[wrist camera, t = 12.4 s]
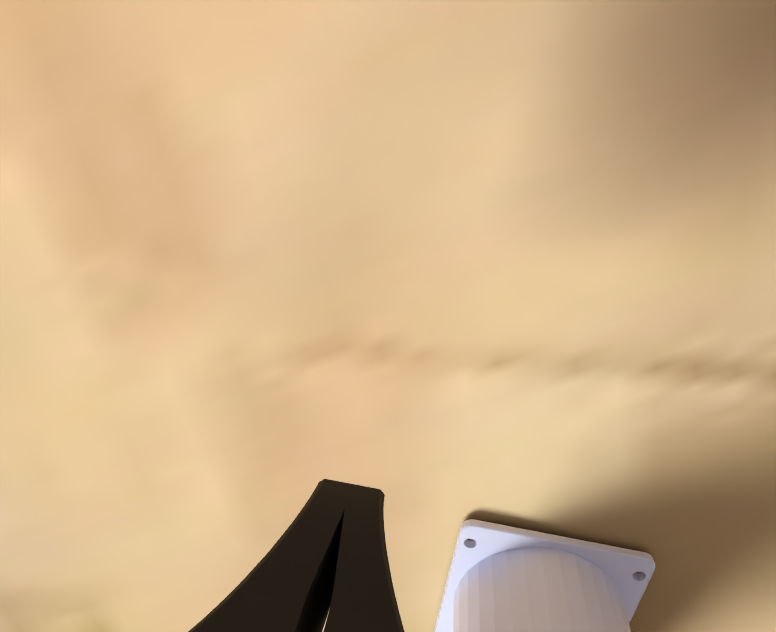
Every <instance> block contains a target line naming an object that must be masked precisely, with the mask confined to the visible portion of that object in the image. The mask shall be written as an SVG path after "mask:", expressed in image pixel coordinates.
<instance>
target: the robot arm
mask: <svg viewBox="0 0 776 632" xmlns="http://www.w3.org/2000/svg"><path fill="white" fill-rule="evenodd" d="M383 506H384V493H383V492H382V491H381V490H380V489H375V488H370V487H364V486H359V485H354V484H349V483H344V482H338V481H333V480H328V479H324V480H322V481H320V482H319V483H318V485H317V487H316V489H315V490H314V492H313V494H312V495H311V497H310V498H309V500H308V501H307V503H306V504H305V506H304V507H303V509H302V510H301V512H300V513H299V514H298V516H297V517H296V518H295V520H294V521H293V522H292V524H291V525H290V526H289V528H288V529H287V530H286V531H285V533H284V534H283V535H282V536H281V537H280V539H279V540H278V541H277V542H276V544H275V545H274V546H273V547H272V549H271V550H270V551H269V552H268V553H267V554H266V556H265V557H264V558H263V559H262V560H261V561H260V562H259V563H258V564H257V565H256V567H255V568H254V569H253V570H252V571H251V572H250V573H249V574H248V575H247V576H246V578H245V579H244V580H243V581H242V582H241V583H240V584H239V585H238V586H237V587H236V588H235V589H234V590H233V591H232V592H231V593H230V594H229V595H228V596H227V597H226V598H225V599H224V600H223V601H222V602H221V603H220V604H219V605H218V606H217V607H216V608H214V609H213V610H212V611H211V612H210V613H209V614H208V615H207V616H206V617H205V618H204V619H203V620H201V621H200V622H199V623H198V624H197V625H196V626H194V627H193V628H192V629H191V630H190V631H189V632H322V630H323V627H324V624H325V621H326V618H327V621H326V625H325V629H324V632H404V629H403V625H402V621H401V618H400V614H399V610H398V606H397V602H396V597H395V593H394V588H393V584H392V579H391V573H390V568H389V562H388V556H387V550H386V542H385V532H384V519H383ZM466 539H473V541H468V540H466ZM655 567H656V565H655V562H654V559H653V557H652V556H651V555H650V554H648V553H645V552H641V551H636V550H631V549H625V548H620V547H615V546H610V545H605V544H599V543H594V542H589V541H584V540H579V539H573V538H568V537H563V536H558V535H553V534H547V533H542V532H537V531H532V530H527V529H521V528H516V527H511V526H506V525H501V524H495V523H490V522H485V521H480V520H474V519H469V520H466V521H464V522H463V523H462V524H461V526H460V530H459V534H458V538H457V542H456V546H455V550H454V554H453V558H452V561H451V565H450V569H449V573H448V577H447V581H446V585H445V589H444V593H443V597H442V601H441V604H440V608H439V612H438V616H437V620H436V624H435V628H434V632H631V630H630V626H629V623H630V621H631V619H632V617H633V615H634V613H635V610H636V608H637V606H638V604H639V602H640V600H641V598H642V596H643V594H644V592H645V589H646V587H647V585H648V583H649V581H650V579H651V577H652V575H653V573H654V571H655ZM636 572H639V573H636ZM329 608H330V610H329ZM328 611H329V614H328ZM327 615H328V617H327Z"/></svg>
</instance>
